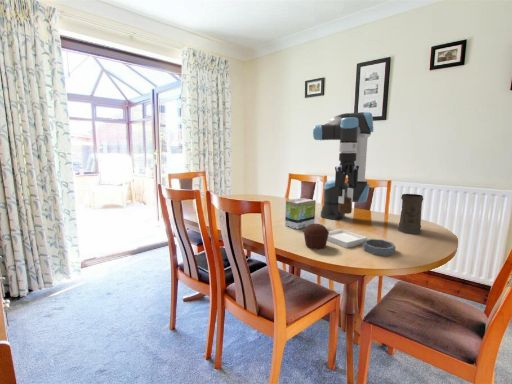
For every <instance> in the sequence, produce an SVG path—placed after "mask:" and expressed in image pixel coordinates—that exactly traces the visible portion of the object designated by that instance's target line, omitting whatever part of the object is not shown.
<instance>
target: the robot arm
mask: <svg viewBox="0 0 512 384" xmlns="http://www.w3.org/2000/svg"><path fill="white" fill-rule="evenodd" d="M373 132H374V119H373V113H372V112H368V111H363V112H360V111H359V112H350V113H349V112H348V113H342V114H341V113H340V114H338V115H336V116H334V117H332V118H330V120H328V122H326V123H324V124H318V125H314V126H313V131H312V136H313V139H314V140H315V141H339V152H340V153H339V154H338V161H339V162H340V163H339V165H337V166H334V170H335V177H334V180H329V181H326V182H324V188H323V194H324V195H323V205H322V208H321V210H320V217H321V218H324V219H329V220H341V219H345V218H346V214H343V213H339V210H338V209H339V203H342V204H344V197H349V198H351V202H352V203H357V204H358V203H361V204H362V203H366V202H367V200H368V196H369V192H370V191H369V190H370V186H371V185H370V183H368V180H367V179H366V169H367V168H366V167H367V152H368V138H369V137H371V135H372V133H373ZM346 179H347V182H346ZM347 190H348V191H347ZM349 190H350V191H351V192H350V191H349ZM346 193H347V194H346ZM345 194H346V196H345Z"/></svg>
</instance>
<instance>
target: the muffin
mask: <svg viewBox="0 0 512 384" xmlns="http://www.w3.org/2000/svg"><path fill="white" fill-rule="evenodd" d="M302 232H303V234H304V235H303V236H304V243H305V246H306V247H307V248H308V249H311V250H323V249H325V248H326V246H327V242H328V241H327V238H328V234H329V230H328V229H327V227H325V225H323V224H322V223H314V224H310V225H308V226H307V227H304V229H303V230H302Z"/></svg>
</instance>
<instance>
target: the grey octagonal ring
mask: <svg viewBox="0 0 512 384" xmlns="http://www.w3.org/2000/svg"><path fill="white" fill-rule="evenodd" d="M362 248H363V250H364V252H366V253H369V254H371V255H374V256H383V257H389V256H392V255H395V254H396V245H395V244H394V242H391V241H388V240H385V239H381V238H380V239H379V238H378V239H376V238H367V240H364V242H363V244H362Z"/></svg>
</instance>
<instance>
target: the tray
mask: <svg viewBox="0 0 512 384" xmlns="http://www.w3.org/2000/svg"><path fill="white" fill-rule="evenodd" d="M328 232H329V234H328V238H327V242H330V243H332V244H335V245H338V246H340V247H342V248H344V249H348V248H352V247H356V246H359V245H363V242H364V240H368V237H367V236H364V235H361V234H358V233H355V232H352V231H349V230H346V229H343V228H338V229H334V230H333V229H332V230H328Z"/></svg>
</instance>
